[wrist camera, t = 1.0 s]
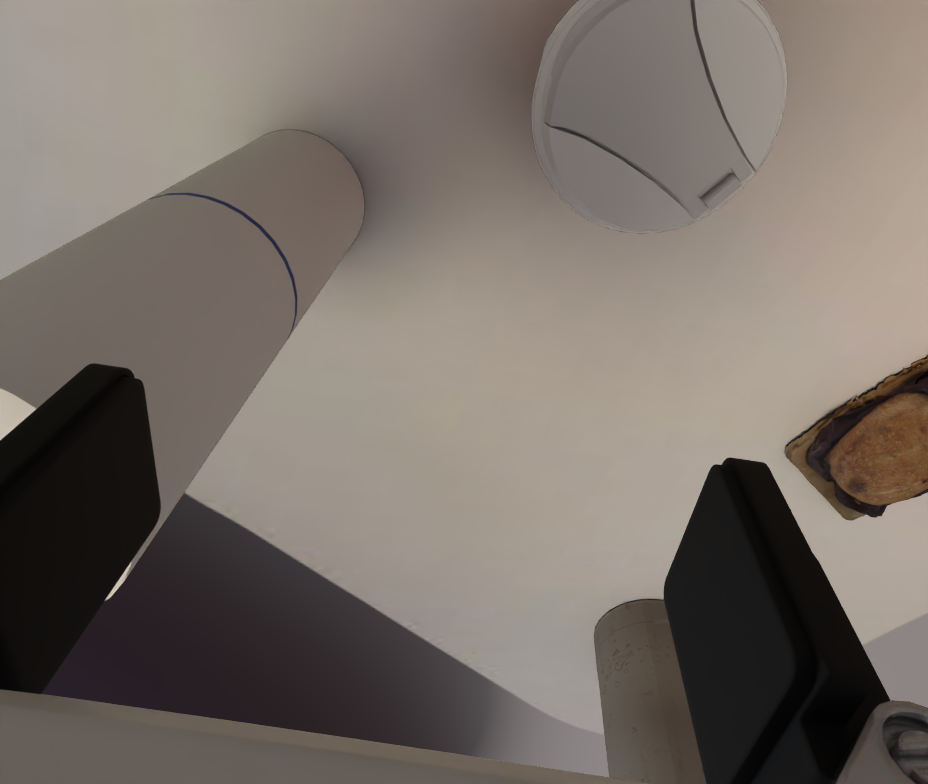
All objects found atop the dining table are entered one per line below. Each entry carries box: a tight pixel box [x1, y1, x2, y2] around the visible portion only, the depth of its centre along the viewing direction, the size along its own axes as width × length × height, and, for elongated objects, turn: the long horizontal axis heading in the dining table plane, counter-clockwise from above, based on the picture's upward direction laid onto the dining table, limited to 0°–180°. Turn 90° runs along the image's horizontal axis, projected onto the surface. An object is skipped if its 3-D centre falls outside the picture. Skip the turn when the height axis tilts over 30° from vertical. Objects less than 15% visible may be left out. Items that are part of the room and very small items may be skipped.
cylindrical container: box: [0, 130, 365, 600], centre depth 25 cm, size 7×7×25 cm
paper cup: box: [531, 0, 787, 234], centre depth 26 cm, size 8×8×14 cm
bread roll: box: [785, 357, 928, 520], centre depth 39 cm, size 11×8×4 cm
